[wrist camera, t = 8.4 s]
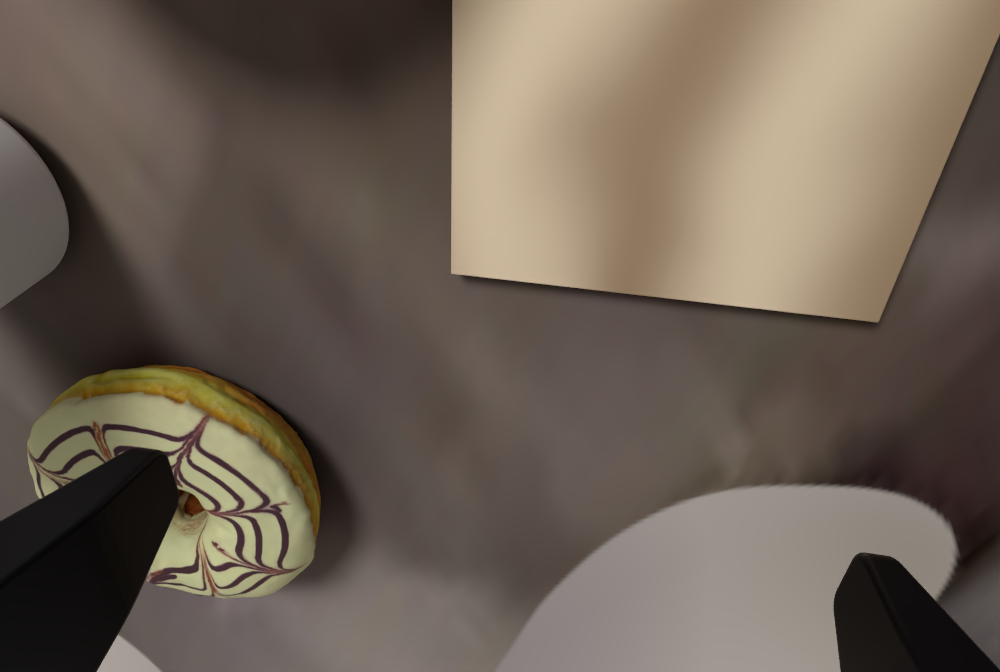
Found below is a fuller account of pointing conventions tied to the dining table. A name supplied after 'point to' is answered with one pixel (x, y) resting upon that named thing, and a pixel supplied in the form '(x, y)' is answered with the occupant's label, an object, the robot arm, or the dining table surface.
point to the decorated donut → (194, 473)
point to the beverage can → (27, 216)
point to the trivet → (707, 143)
